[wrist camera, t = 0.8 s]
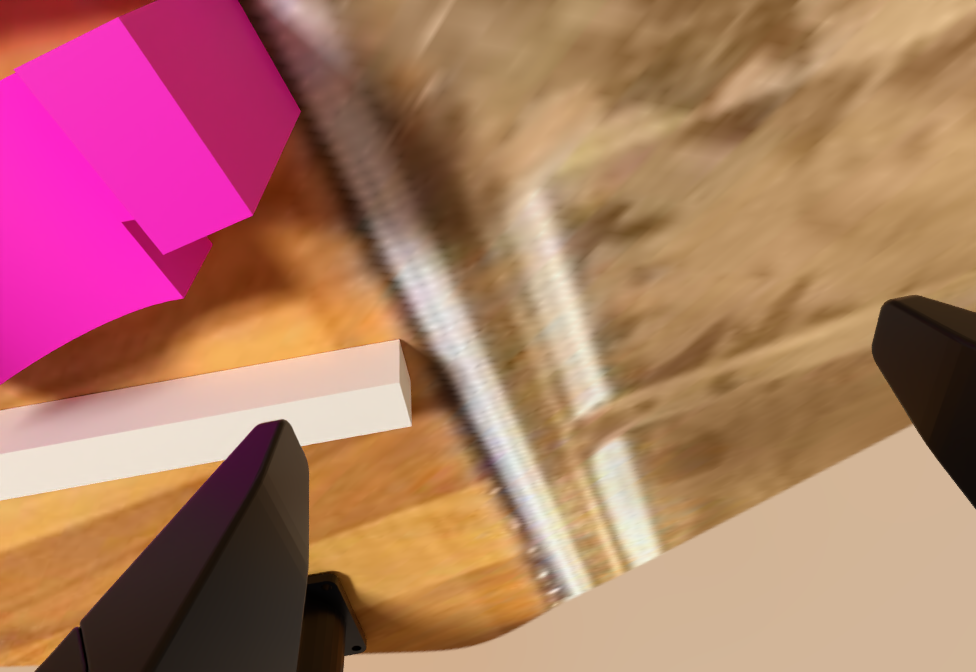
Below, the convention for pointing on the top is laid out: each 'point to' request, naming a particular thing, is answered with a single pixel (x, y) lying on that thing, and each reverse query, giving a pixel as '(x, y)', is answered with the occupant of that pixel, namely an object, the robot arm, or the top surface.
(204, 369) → the top surface
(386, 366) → the chute
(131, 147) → the toy block
